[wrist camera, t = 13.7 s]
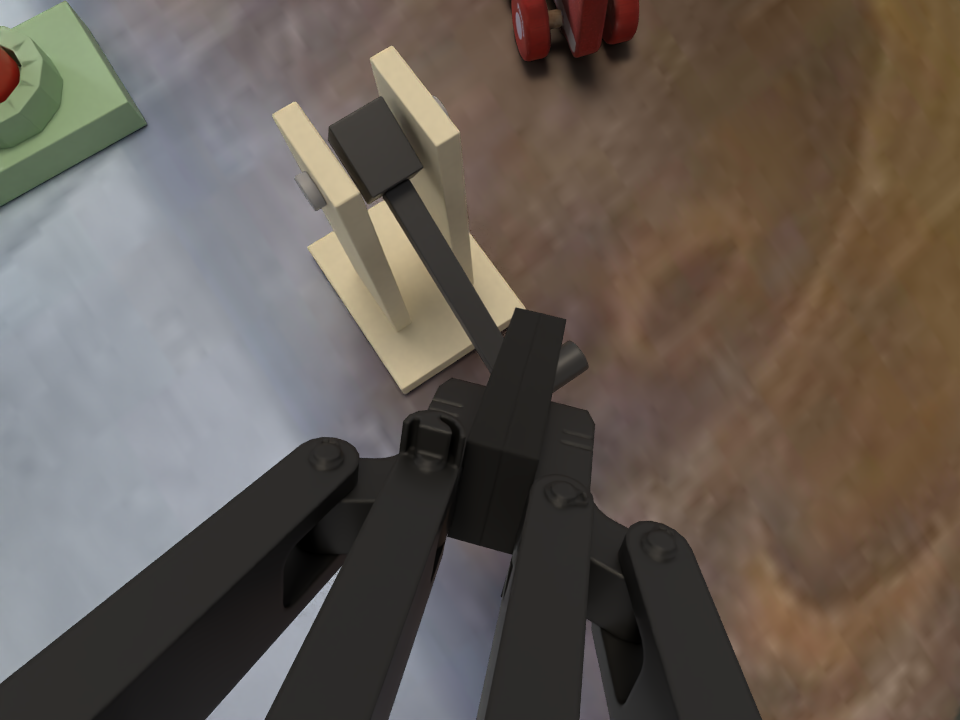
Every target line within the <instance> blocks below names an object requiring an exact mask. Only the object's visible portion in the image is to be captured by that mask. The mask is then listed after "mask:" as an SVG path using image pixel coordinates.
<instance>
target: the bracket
mask: <svg viewBox="0 0 960 720" xmlns="http://www.w3.org/2000/svg"><path fill="white" fill-rule="evenodd" d="M370 62H371V66H372V70H373V73H374V77H375V81H376V85H377V88H378V92H379V96H382V97H383V98H384V100H385V102H386V103H387V105H388V107H389V108H390V110H391V112H392V114H393V115H394V117H395V119H396V120H397V122H398V124H399V125H400V127H401V129H402V131H403V132H404V134H405V136H406V137H407V139H408V141H409V143H410V144H411V146H412V148H413V149H414V151H415V153H416V154H417V156H418V158H419V160H420V161H421V163H422V165H423V169H422V170H420V171H419V172H418V173H417V174H416V175H415V176H414V177H413V178H411V179H409V180H410V181H411V183H412V184H413V186H414V188H415V189H416V191H417V193H418V194H419V196H420V198H421V199H422V201H423V203H424V205H425V206H426V208H427V210H428V211H429V213H430V215H431V216H432V218H433V220H434V221H435V223H436V225H437V226H438V228H439V230H440V231H441V233H442V235H443V236H444V238H445V240H446V241H447V243H448V245H449V246H450V248H451V250H452V251H453V253H454V255H455V257H456V258H457V260H458V262H459V263H460V265H461V267H462V268H463V270H464V272H465V273H466V275H467V277H468V278H469V280H470V282H471V283H472V285H473V287H474V288H475V290H476V292H477V293H478V295H479V297H480V298H481V300H482V302H483V303H484V305H485V307H486V309H487V310H488V312H489V314H490V315H491V317H492V319H493V320H494V322H495V324H496V325H497V327H498V329H499V330H500V332H501V331H503V330H504V329H506V328H507V327H508V326H509V324H510V321H511V318H512V315H513V313H514V310H515V307H517V308H521V309H525V310H526V308H525V307H524V305H523V304H522V303H521V301H520V300H519V299H518V297H517V296H516V295H515V293H514V292H513V291H512V289H511V288H510V287H509V285H508V284H507V282H506V281H505V280H504V278H503V277H502V276H501V274H500V273H499V272H498V270H497V269H496V268H495V266H494V265H493V264H492V262H491V261H490V260H489V258H488V257H487V256H486V254H485V253H484V252H483V250H482V249H481V248H480V246H479V245H478V243H477V242H476V241H475V239H474V238H473V237H472V235H471V234H470V233H469V225H468V214H467V204H466V193H465V182H464V171H463V160H462V149H461V138H460V131H459V130H458V129H457V128H456V126H455V125H454V124H453V122H452V121H451V120H450V118H449V115H448V113H447V111H446V109H445V107H444V106H443V104H442V103H441V102H440V100H439V99H438V98H437V97H435V96H432V95H431V94H430V93H429V92H428V90H427V89H426V88H425V86H424V85H423V84H422V83H421V81H420V80H419V79H418V77H417V76H416V75H415V74H414V72H413V71H412V70H411V68H410V67H409V66H408V65H407V63H406V62H405V61H404V59H403V58H402V57H401V56H400V54H399V53H398V52H397V50H396V49H395V48H394V47H393V46H390V47H388V48H387V49H385V50H383V51H381V52H380V53H378V54H376V55H374V56H373V57H371V58H370ZM272 116H273V119H274V121H275V123H276V125H277V126H278V128H279V130H280V132H281V134H282V136H283V138H284V139H285V141H286V143H287V145H288V147H289V149H290V151H291V152H292V154H293V156H294V158H295V160H296V162H297V164H298V165H299V167H300V169H301V171H302V173H300V174H298V175H297V176H295V177H294V179H295V181H296V183H297V184H298V186H299V188H300V189H301V191H302V192H303V194H304V196H305V197H306V199H307V200H308V202H309V203H310V205H311V206H312V208H313V209H314V210H315V211H318V210H319V209H321V208H322V210H323V212H324V214H325V215H326V217H327V219H328V221H329V223H330V225H331V227H332V228H333V230H334V231H333V232H331V233H329V234H328V235H326V236H324V237H323V238H321V239H319V240H318V241H316V242H315V243H313V244H311V245H310V246H308V250H309V251H310V253H311V254H312V256H313V257H314V259H315V260H316V262H317V263H318V265H319V266H320V268H321V269H322V271H323V272H324V274H325V276H326V277H327V279H328V280H329V282H330V283H331V285H332V286H333V288H334V289H335V291H336V292H337V294H338V295H339V297H340V298H341V300H342V301H343V303H344V304H345V306H346V307H347V309H348V310H349V312H350V313H351V315H352V316H353V318H354V319H355V321H356V322H357V324H358V326H359V327H360V329H361V330H362V332H363V333H364V335H365V336H366V338H367V339H368V341H369V342H370V344H371V345H372V347H373V348H374V350H375V351H376V353H377V354H378V356H379V357H380V359H381V360H382V362H383V363H384V365H385V366H386V368H387V369H388V371H389V373H390V374H391V376H392V377H393V379H394V380H395V382H396V383H397V385H398V386H399V388H400V389H401V391H402V392H403V394H407V393H408V392H410V391H411V390H413V389H414V388H416V387H417V386H419V385H420V384H422V383H423V382H425V381H426V380H428V379H429V378H431V377H433V376H434V375H436V374H437V373H439V372H440V371H442V370H443V369H445V368H446V367H448V366H449V365H451V364H452V363H454V362H455V361H457V360H458V359H460V358H461V357H463V356H465V355H466V354H468V353H469V352H471V351H472V350H474V349H475V347H474V346H473V344H472V342H471V341H470V339H469V337H468V336H467V334H466V333H465V331H464V329H463V328H462V326H461V324H460V323H459V321H458V320H457V318H456V316H455V315H454V313H453V311H452V310H451V308H450V306H449V305H448V303H447V302H446V300H445V298H444V297H443V295H442V293H441V292H440V290H439V289H438V287H437V285H436V284H435V282H434V280H433V279H432V277H431V275H430V274H429V272H428V271H427V269H426V267H425V266H424V264H423V262H422V261H421V259H420V258H419V256H418V254H417V253H416V251H415V249H414V248H413V246H412V244H411V243H410V241H409V240H408V238H407V236H406V235H405V233H404V231H403V230H402V228H401V226H400V225H399V223H398V222H397V220H396V218H395V217H394V215H393V213H392V212H391V210H390V209H389V207H388V205H387V204H386V202H385V200H384V201H382V202H380V203H379V204H377V205H375V206H374V207H372V208H370V209H369V210H367V208H366V206H365V203H364V201H363V198H362V196H361V193H360V191H359V190H358V188H357V187H356V186H355V184H354V183H353V181H352V180H351V178H350V177H349V176H348V174H347V173H346V171H345V170H344V168H343V167H342V166H341V164H340V163H339V161H338V160H337V159H336V157H335V156H334V154H333V153H332V151H331V150H330V149H329V147H328V146H327V144H326V143H325V142H324V140H323V139H322V137H321V136H320V134H319V133H318V132H317V130H316V129H315V127H314V126H313V124H312V123H311V122H310V120H309V119H308V117H307V116H306V115H305V113H304V112H303V110H302V109H301V107H300V106H299V105H298V103H296V102H293V103H291V104H289V105H288V106H286V107H284V108H282V109H281V110H279V111H277V112H275V113H274V114H273V115H272Z"/></svg>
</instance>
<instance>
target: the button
mask: <svg viewBox="0 0 960 720" xmlns="http://www.w3.org/2000/svg"><path fill="white" fill-rule="evenodd" d="M19 80H20V71H19V67H18V65H17V63H16V62H15V61H14V60H13V59H12V58H11V57H10V56H9V55H8V54H7V53H6V52H5V51H4V50H3V49H2V48H1V47H0V103H2V102H4V101H6V100H7V98H8V97H9V96H10V94H11V93H12V92H13V91H14V89H15V88H16V87H17V85H18V84H19Z"/></svg>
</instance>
